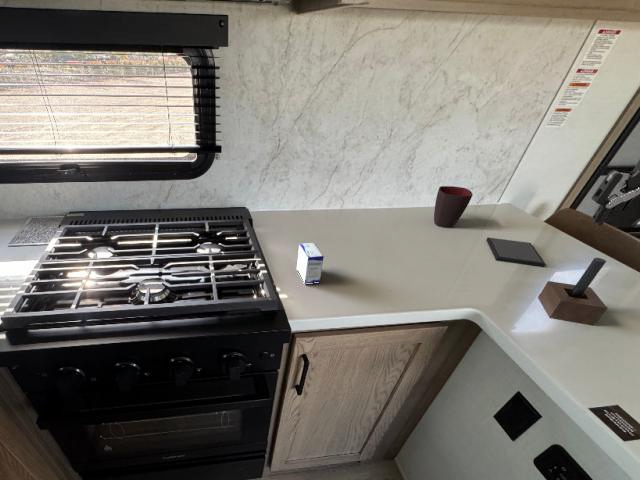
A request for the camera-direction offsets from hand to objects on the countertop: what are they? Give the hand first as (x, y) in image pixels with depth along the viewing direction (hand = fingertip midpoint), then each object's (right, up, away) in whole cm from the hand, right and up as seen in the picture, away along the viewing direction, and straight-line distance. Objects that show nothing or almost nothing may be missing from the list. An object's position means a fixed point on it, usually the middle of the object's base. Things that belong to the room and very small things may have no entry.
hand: (622, 227), depth 70 cm
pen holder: (0, -17, +13) cm, 22 cm away
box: (-59, -9, +26) cm, 65 cm away
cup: (-5, +13, +54) cm, 56 cm away
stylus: (0, -17, +13) cm, 22 cm away
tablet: (+6, 0, +36) cm, 36 cm away
